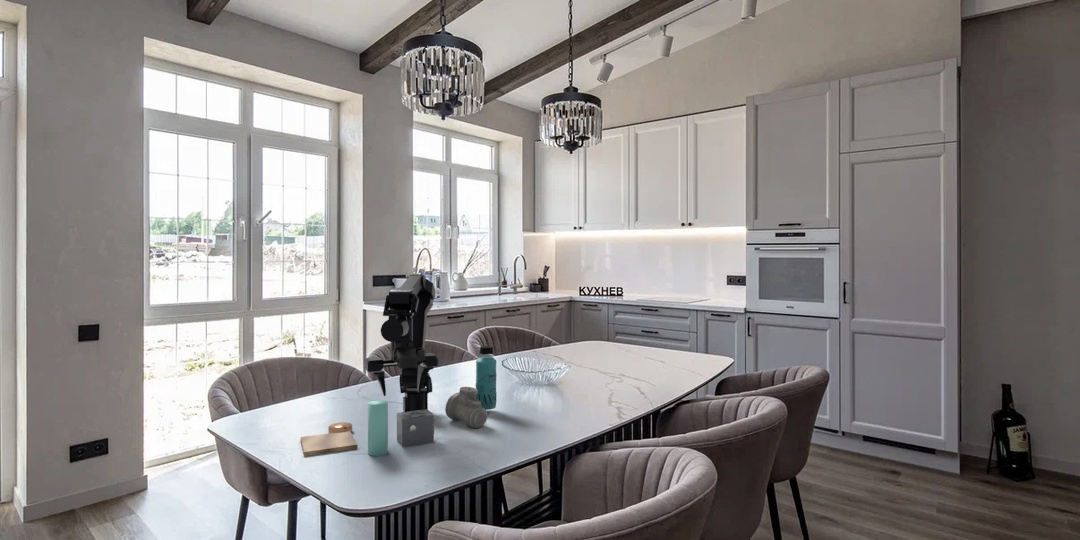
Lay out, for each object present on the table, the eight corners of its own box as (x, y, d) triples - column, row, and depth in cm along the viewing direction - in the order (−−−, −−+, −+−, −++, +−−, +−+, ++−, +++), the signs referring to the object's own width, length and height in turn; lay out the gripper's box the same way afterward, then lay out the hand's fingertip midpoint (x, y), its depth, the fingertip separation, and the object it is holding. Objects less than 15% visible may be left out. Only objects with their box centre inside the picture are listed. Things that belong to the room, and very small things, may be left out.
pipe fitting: (442, 420, 159) (447, 385, 158) (465, 417, 164) (470, 383, 163) (465, 435, 150) (470, 398, 149) (489, 431, 155) (494, 395, 154)
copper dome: (350, 428, 153) (350, 421, 153) (353, 434, 147) (353, 427, 147) (327, 431, 150) (327, 424, 150) (329, 438, 145) (329, 430, 145)
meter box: (427, 435, 146) (427, 408, 146) (434, 443, 140) (434, 415, 140) (396, 439, 143) (396, 412, 143) (402, 448, 137) (402, 420, 136)
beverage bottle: (471, 413, 167) (471, 347, 166) (481, 408, 173) (481, 343, 172) (490, 416, 164) (490, 348, 164) (500, 410, 171) (500, 345, 170)
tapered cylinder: (385, 448, 137) (385, 399, 136) (389, 454, 133) (389, 404, 132) (366, 450, 135) (366, 401, 134) (369, 457, 131) (369, 406, 130)
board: (349, 434, 147) (349, 430, 147) (357, 448, 136) (357, 444, 136) (300, 441, 141) (300, 437, 141) (304, 456, 131) (304, 452, 131)
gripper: (371, 342, 138) (371, 405, 139) (444, 338, 147) (444, 396, 147) (363, 336, 148) (364, 395, 148) (432, 332, 157) (432, 387, 157)
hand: (401, 393), depth 150 cm, fingers open, 9 cm apart
